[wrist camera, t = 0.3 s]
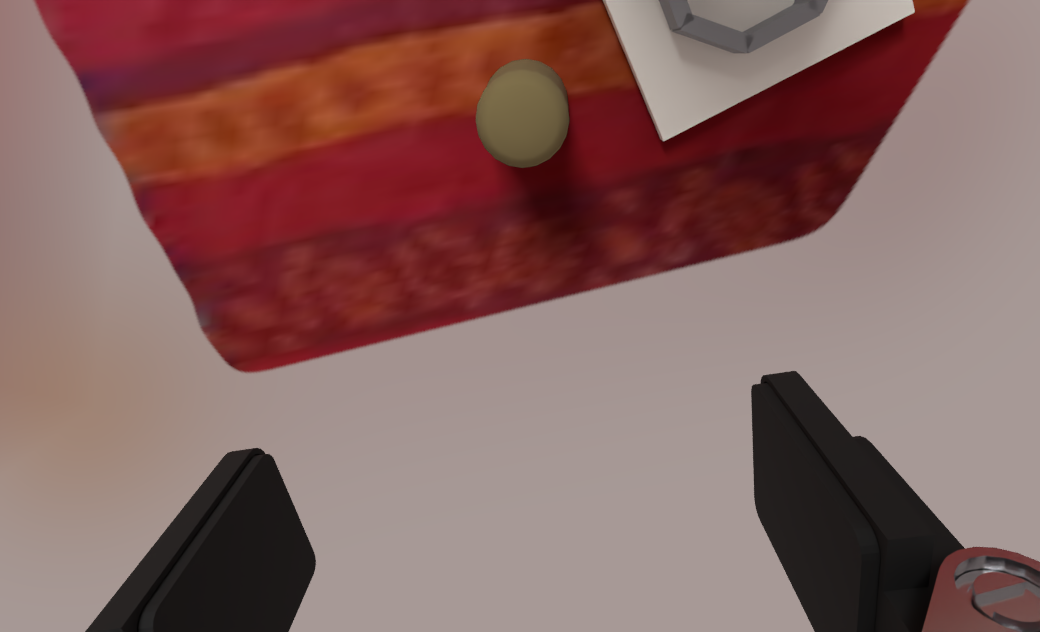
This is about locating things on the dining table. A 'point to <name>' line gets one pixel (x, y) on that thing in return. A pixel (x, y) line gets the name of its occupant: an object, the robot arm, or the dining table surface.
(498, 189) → the dining table surface
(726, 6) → the socket plate
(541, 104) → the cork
